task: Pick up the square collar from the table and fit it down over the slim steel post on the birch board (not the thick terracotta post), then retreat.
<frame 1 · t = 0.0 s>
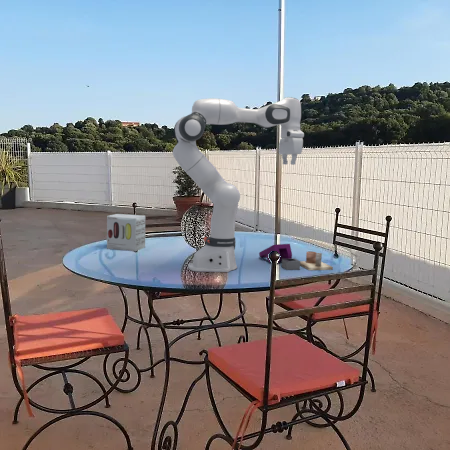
hand: (288, 164, 211), 48 cm above the table, tool pointing down, fingers open, 8 cm apart
supplement box: (126, 248, 250), on the table
post board: (314, 266, 218), on the table
collar: (290, 268, 213), on the table
mounting bracket: (273, 261, 230), on the table
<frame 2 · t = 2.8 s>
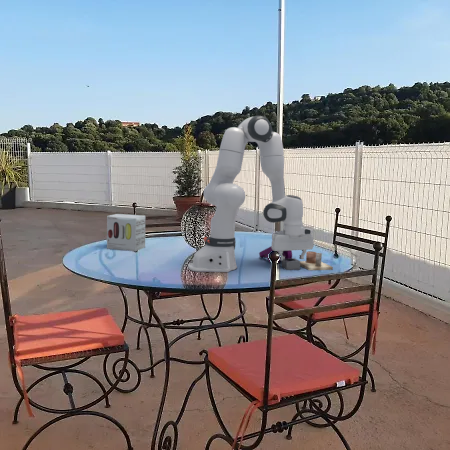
hand: (292, 259, 214), 4 cm above the table, tool pointing down, fingers open, 8 cm apart
collar: (290, 268, 213), on the table, touching gripper
everything else where it was.
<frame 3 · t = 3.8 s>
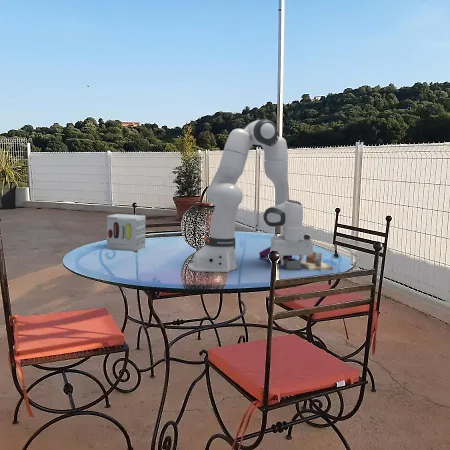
hand: (290, 264, 213), 2 cm above the table, tool pointing down, fingers closed on collar, 6 cm apart
collar: (290, 268, 213), on the table, touching gripper
everything else where it was.
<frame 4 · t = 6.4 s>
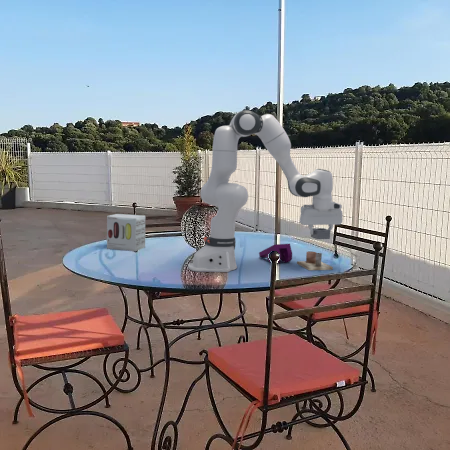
hand: (320, 234, 212), 16 cm above the table, tool pointing down, fingers closed on collar, 6 cm apart
collar: (320, 237, 212), point 15 cm above the table, touching gripper
everything else where it was.
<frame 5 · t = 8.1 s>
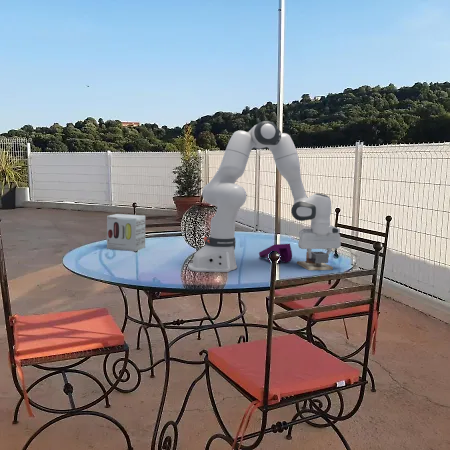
hand: (318, 257, 214), 5 cm above the table, tool pointing down, fingers closed on collar, 6 cm apart
collar: (318, 261, 214), point 3 cm above the table, touching gripper
everything else where it was.
when the fingers open (4 cm above the table, at t = 9.3 s): collar drops 1 cm, resting on post board.
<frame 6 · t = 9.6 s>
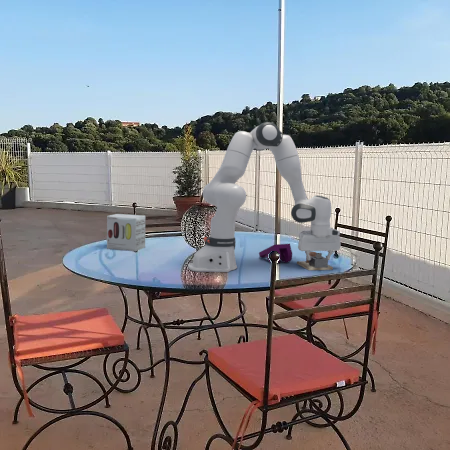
hand: (318, 260, 214), 4 cm above the table, tool pointing down, fingers open, 8 cm apart
collar: (318, 266, 214), point 1 cm above the table, touching post board
everything else where it was.
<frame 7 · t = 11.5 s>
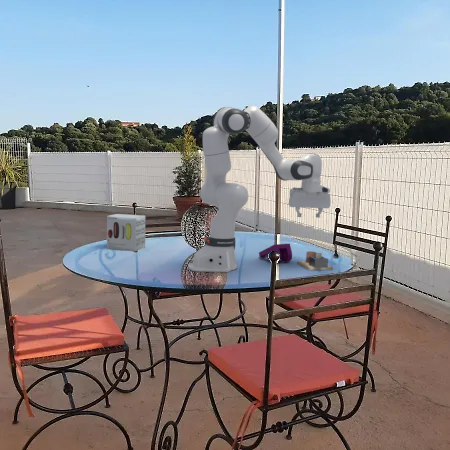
hand: (308, 217, 218), 23 cm above the table, tool pointing down, fingers open, 8 cm apart
nothing on the table moved.
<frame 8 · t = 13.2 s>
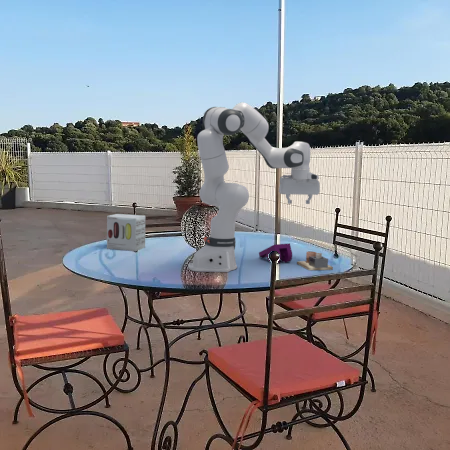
hand: (298, 203, 224), 29 cm above the table, tool pointing down, fingers open, 8 cm apart
nothing on the table moved.
at the end: collar 0.1 cm from the target spot, point 1.2 cm above the table; the gripper is holding nothing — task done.
